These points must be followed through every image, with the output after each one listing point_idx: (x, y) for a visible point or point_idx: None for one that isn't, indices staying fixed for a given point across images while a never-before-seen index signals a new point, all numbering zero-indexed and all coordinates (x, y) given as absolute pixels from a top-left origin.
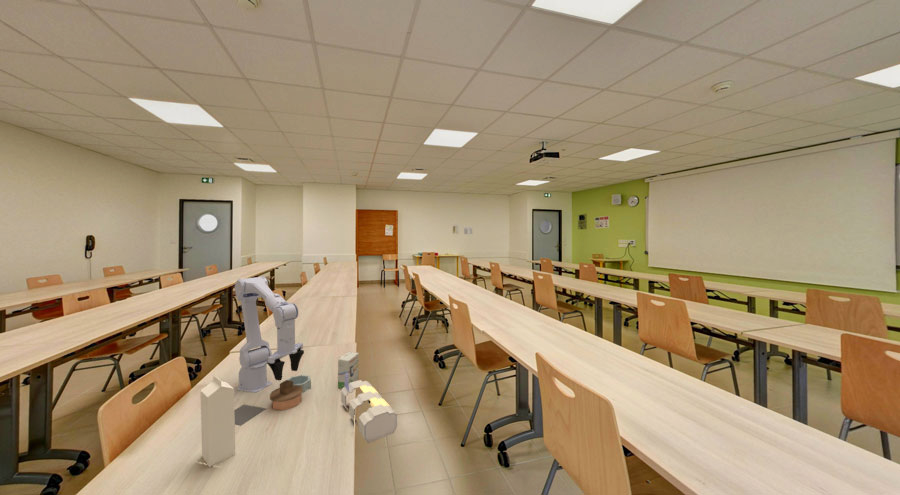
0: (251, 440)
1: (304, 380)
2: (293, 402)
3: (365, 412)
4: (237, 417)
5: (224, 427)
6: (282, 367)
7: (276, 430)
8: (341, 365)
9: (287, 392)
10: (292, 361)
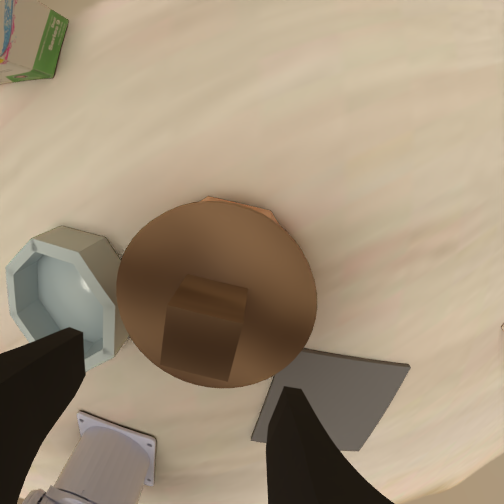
0: (494, 268)
1: (29, 284)
2: (272, 218)
3: None
4: (348, 412)
5: None
6: (327, 489)
7: (456, 202)
8: None
9: (240, 291)
10: (36, 426)
